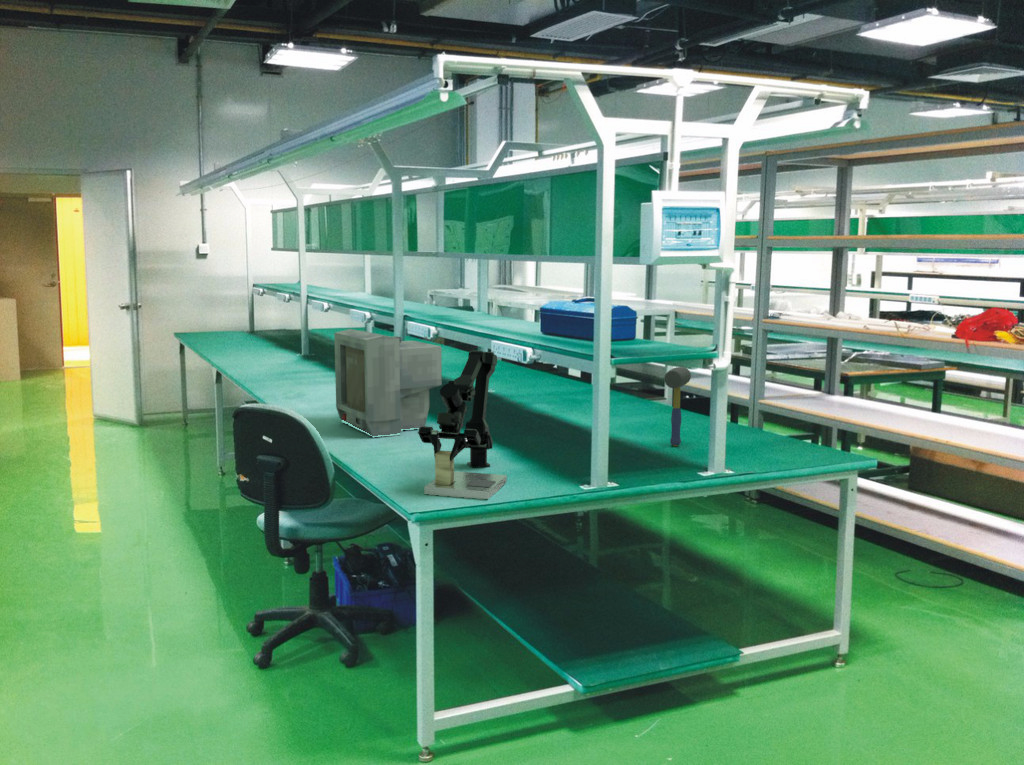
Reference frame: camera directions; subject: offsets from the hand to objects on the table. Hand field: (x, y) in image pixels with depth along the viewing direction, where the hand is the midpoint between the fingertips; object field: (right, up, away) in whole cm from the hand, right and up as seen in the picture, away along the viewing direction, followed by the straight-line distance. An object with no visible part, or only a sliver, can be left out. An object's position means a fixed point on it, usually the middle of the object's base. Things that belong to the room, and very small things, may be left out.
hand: (443, 459), depth 261 cm
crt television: (-29, +5, +101) cm, 106 cm away
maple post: (0, -7, +2) cm, 8 cm away
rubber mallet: (+83, -1, +67) cm, 107 cm away
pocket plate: (+7, -9, +6) cm, 13 cm away
